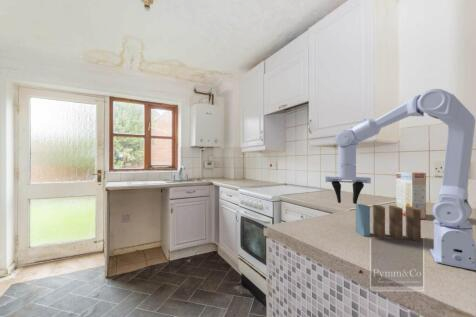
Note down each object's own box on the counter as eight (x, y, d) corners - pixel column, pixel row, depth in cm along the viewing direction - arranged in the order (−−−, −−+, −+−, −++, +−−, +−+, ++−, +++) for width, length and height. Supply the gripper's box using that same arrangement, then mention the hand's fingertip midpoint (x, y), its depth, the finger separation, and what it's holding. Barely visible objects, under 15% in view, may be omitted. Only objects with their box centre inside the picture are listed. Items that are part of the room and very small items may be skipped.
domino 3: (395, 234, 75) (395, 205, 76) (402, 239, 71) (402, 208, 71) (389, 234, 76) (389, 205, 76) (395, 238, 71) (395, 208, 71)
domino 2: (379, 233, 77) (379, 204, 77) (385, 238, 72) (385, 207, 72) (373, 232, 77) (373, 204, 77) (378, 237, 72) (378, 207, 73)
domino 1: (363, 236, 73) (364, 206, 74) (355, 231, 78) (355, 203, 79) (369, 236, 73) (369, 206, 74) (361, 231, 78) (361, 203, 79)
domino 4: (412, 236, 74) (412, 206, 74) (420, 241, 69) (420, 209, 70) (405, 235, 75) (405, 206, 75) (413, 240, 70) (413, 209, 70)
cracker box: (427, 219, 97) (426, 172, 97) (411, 219, 98) (411, 172, 98) (409, 212, 110) (409, 171, 111) (395, 212, 112) (395, 171, 112)
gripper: (366, 164, 80) (366, 202, 79) (323, 164, 83) (323, 200, 83) (372, 165, 73) (372, 205, 73) (326, 164, 76) (326, 203, 76)
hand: (346, 203), depth 77 cm, fingers open, 4 cm apart
